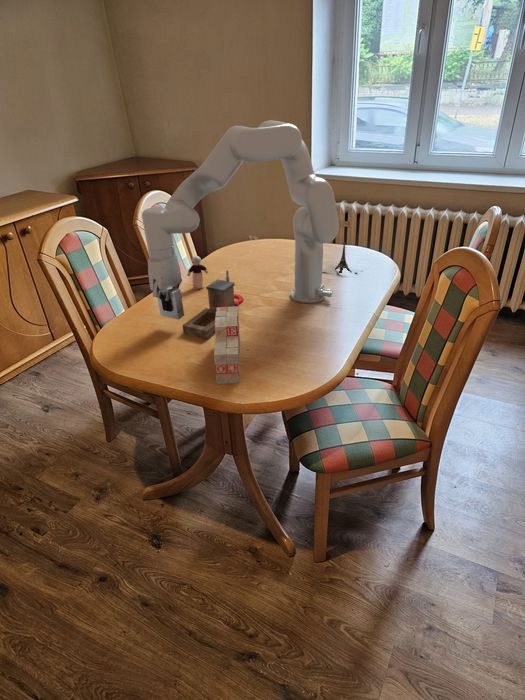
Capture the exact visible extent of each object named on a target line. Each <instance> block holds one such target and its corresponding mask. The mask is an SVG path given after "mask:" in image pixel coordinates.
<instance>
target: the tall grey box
mask: <svg viewBox="0 0 525 700" xmlns="http://www.w3.org/2000/svg"><path fill="white" fill-rule="evenodd" d="M163 295H164V293H163ZM168 295H169V300H170V301H171V307H172V311H171V312H168V311H164V310H163V307H162V302H161V300H160V299H159V298H157V303H158V308H159V313H160V316H162V317H165V318H171V319H174V320H181V318H183V317H185V310H184V303H183V298H182V291H181V289H180V288H179V289H176V288H171V289H170V290H168Z"/></svg>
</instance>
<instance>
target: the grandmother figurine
mask: <svg viewBox="0 0 525 700" xmlns="http://www.w3.org/2000/svg"><path fill="white" fill-rule="evenodd" d="M191 261H192V265H191V266H190V267H189V269H188V272H187V274H186V275H187V277H190V276H191V274H192V286H193V287H192V289H191V290H193V291H195V290H198V289H199V290H203V289H204V288H205V287H204V278H203V277H204V276H203V272H205V274H209V271H208V270H207V267H206V266H204V265H203V264H201V261H202V259H201V257H200V256H198V255H193V256H192V258H191ZM202 271H203V272H202Z"/></svg>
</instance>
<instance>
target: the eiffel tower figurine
mask: <svg viewBox="0 0 525 700" xmlns="http://www.w3.org/2000/svg"><path fill="white" fill-rule="evenodd" d="M342 247H343V248H342V254H341V258H340V260H339V263H338V264H337V265H336V267H334V269H335V270H336V269H340V271H339V273H342V270H343V268H346V269H347V270H348V271H351V270H350V268H349V265H348V263H347V260H346V242H345V239H344V241H343V245H342ZM335 270H334V271H335Z"/></svg>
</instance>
